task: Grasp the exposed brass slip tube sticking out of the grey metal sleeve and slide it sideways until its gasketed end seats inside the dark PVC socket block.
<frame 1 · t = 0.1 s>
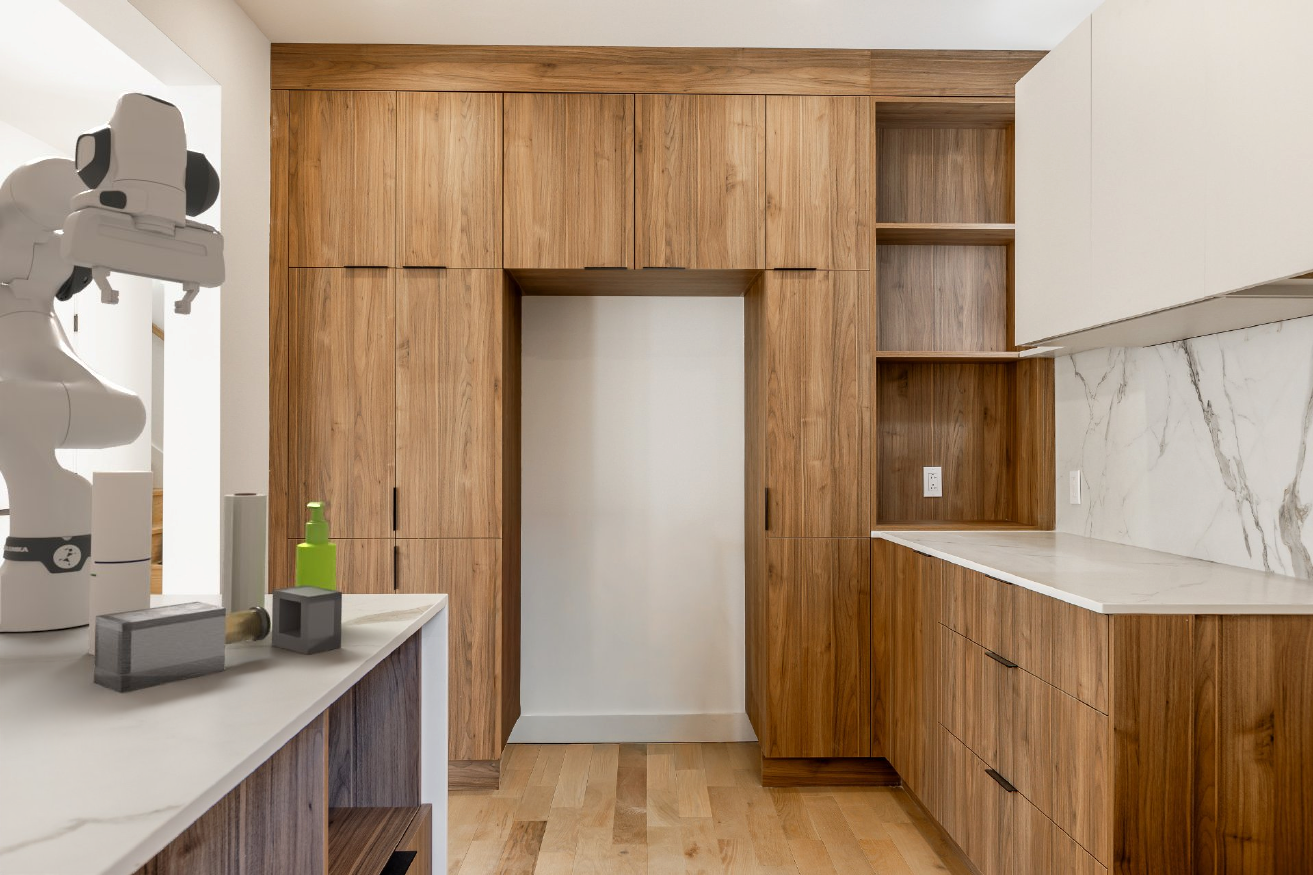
hand: (147, 308, 114), 48 cm above the counter, fingers open, 8 cm apart
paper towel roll: (239, 632, 127), on the counter
soap dispenser: (314, 627, 131), on the counter
cylindrical container: (119, 650, 115), on the counter
grey sleeve: (161, 676, 101), on the counter
dark socket block: (306, 646, 118), on the counter
brass slip tube: (203, 632, 106), point 5 cm above the counter, slide at 0.0 cm
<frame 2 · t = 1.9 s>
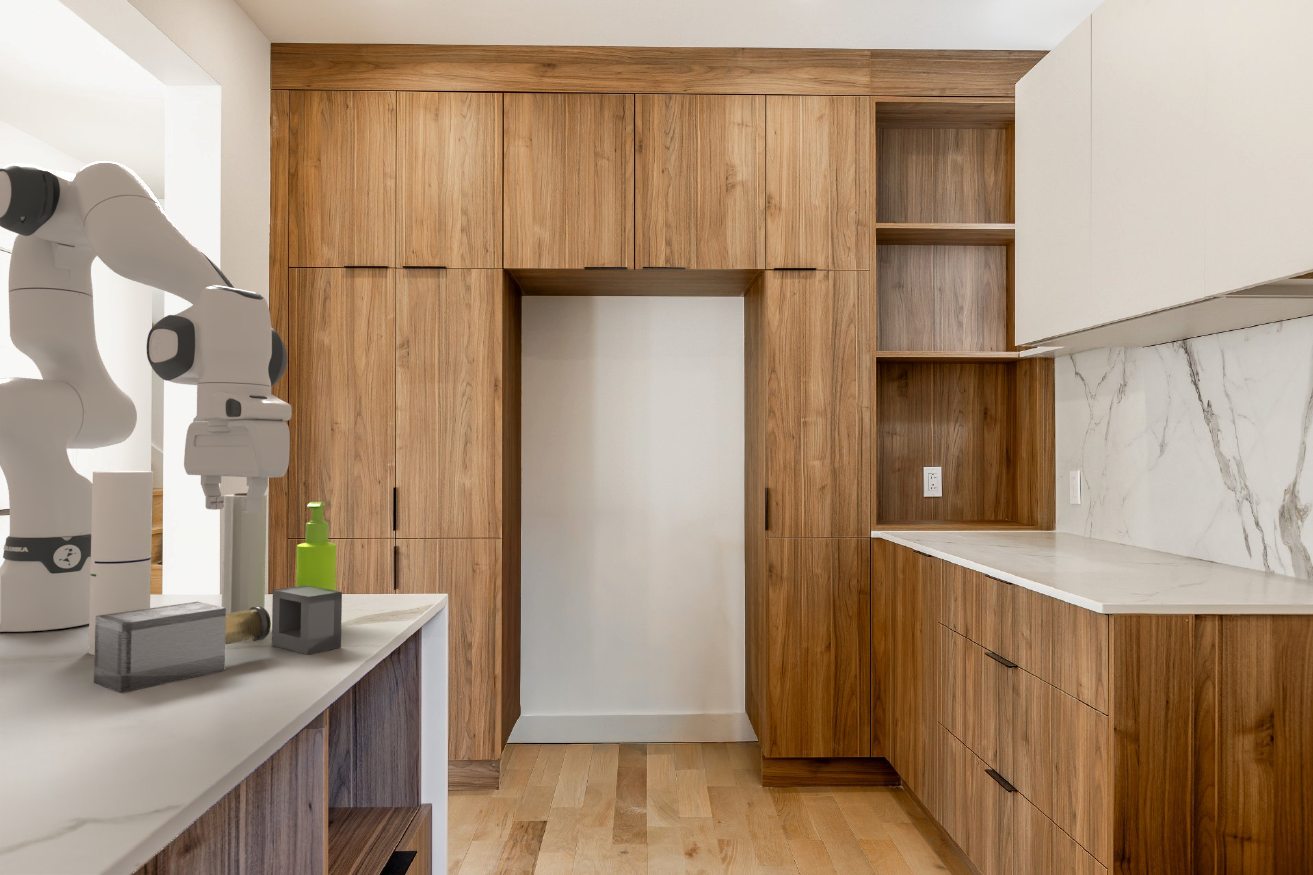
hand: (232, 510, 109), 20 cm above the counter, fingers open, 8 cm apart
nothing on the counter moved.
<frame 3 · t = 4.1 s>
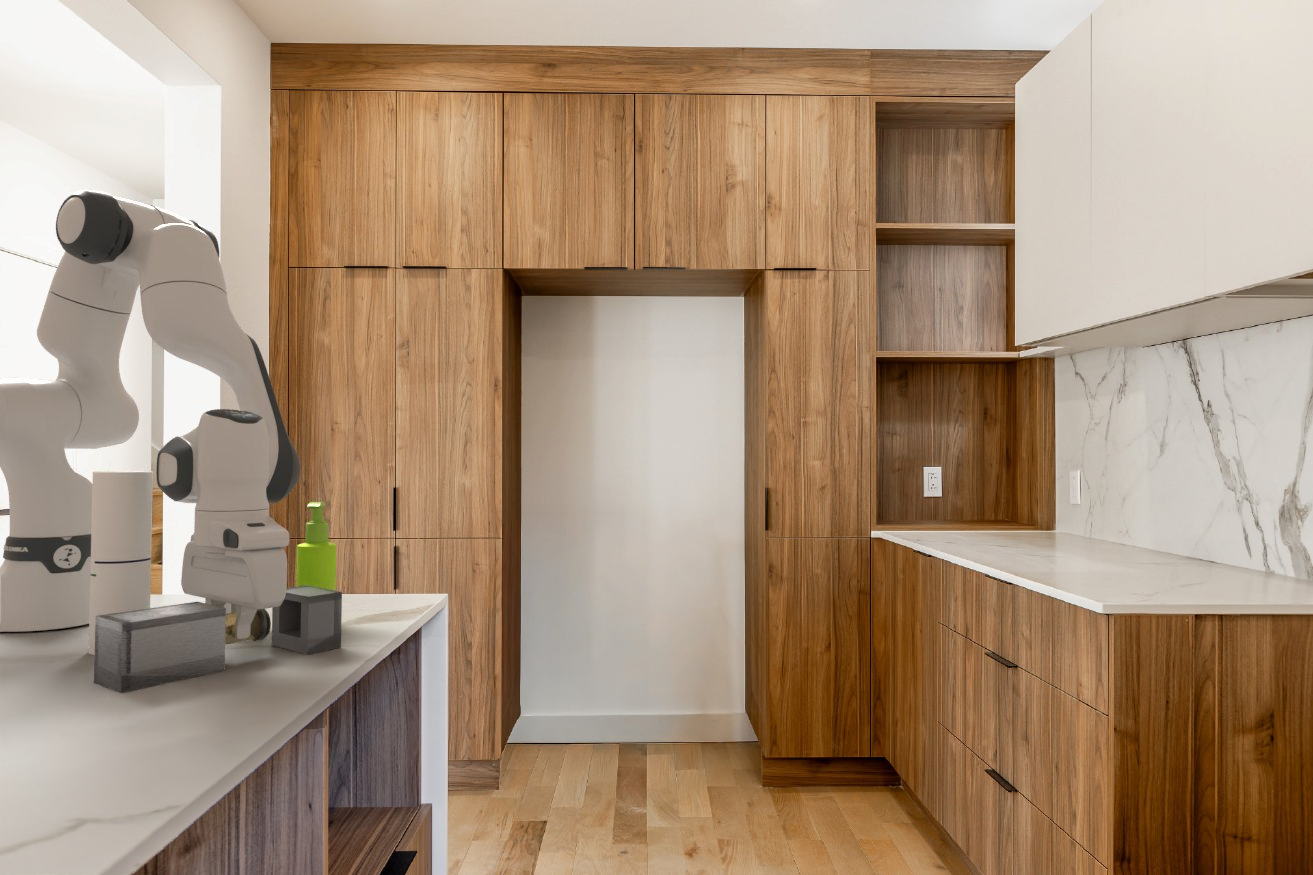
hand: (229, 635, 108), 4 cm above the counter, fingers closed on brass slip tube, 4 cm apart
brass slip tube: (203, 632, 106), point 5 cm above the counter, slide at 0.0 cm, touching gripper
everything else where it was.
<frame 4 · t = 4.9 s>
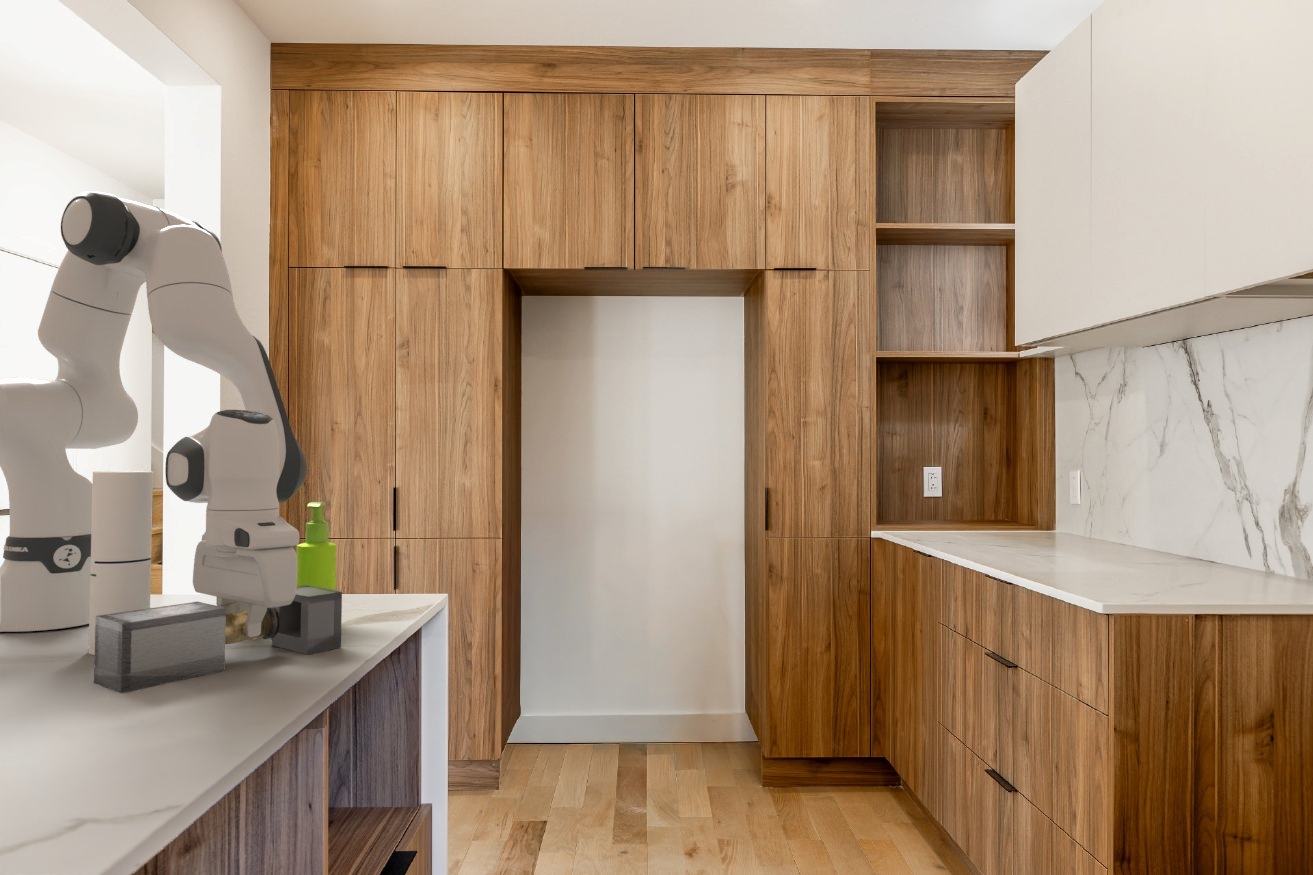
hand: (240, 633, 110), 4 cm above the counter, fingers closed on brass slip tube, 4 cm apart
brass slip tube: (214, 631, 107), point 5 cm above the counter, slide at 1.5 cm, touching gripper
everything else where it was.
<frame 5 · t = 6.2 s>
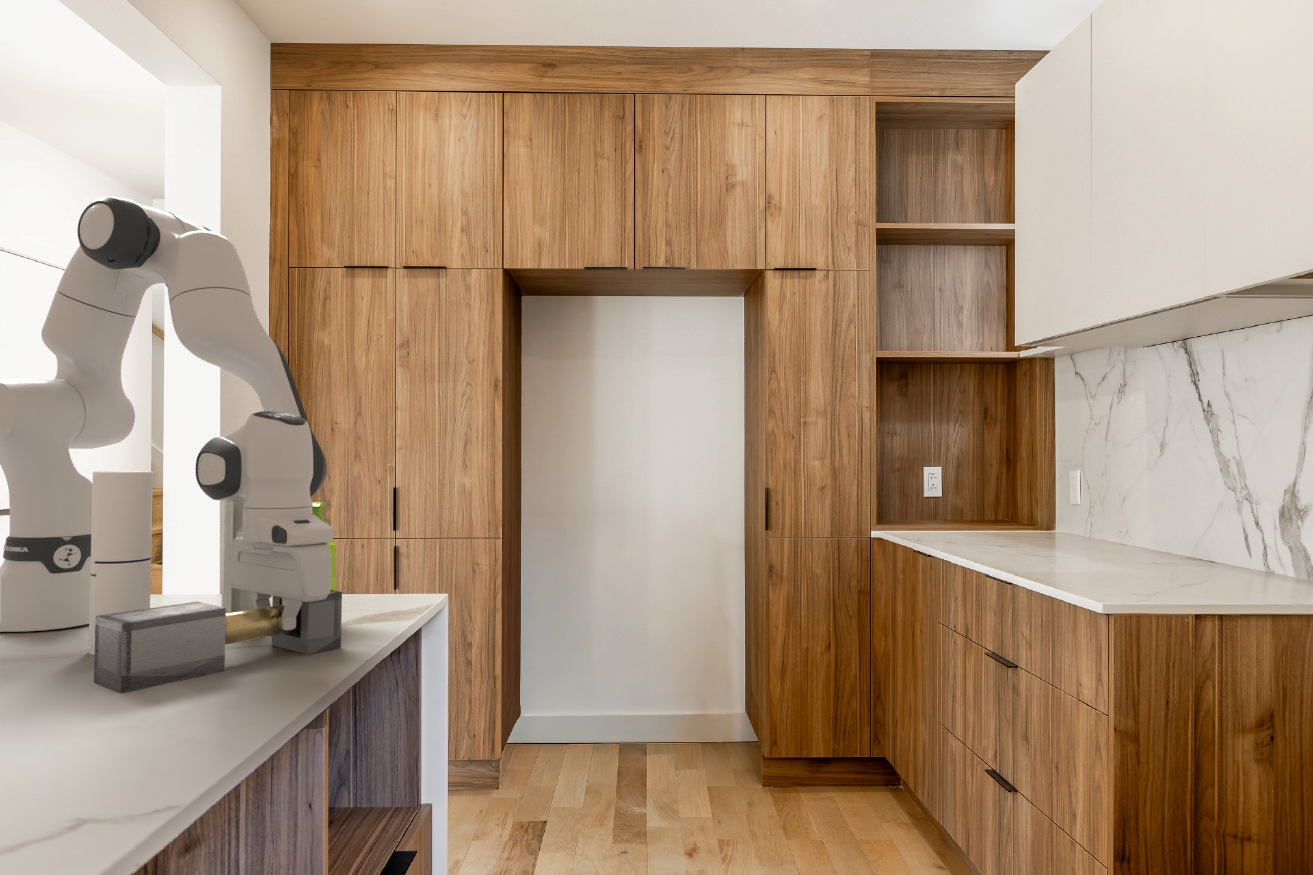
hand: (276, 626, 114), 4 cm above the counter, fingers closed on brass slip tube, 4 cm apart
brass slip tube: (251, 624, 111), point 5 cm above the counter, slide at 6.4 cm, touching gripper
everything else where it was.
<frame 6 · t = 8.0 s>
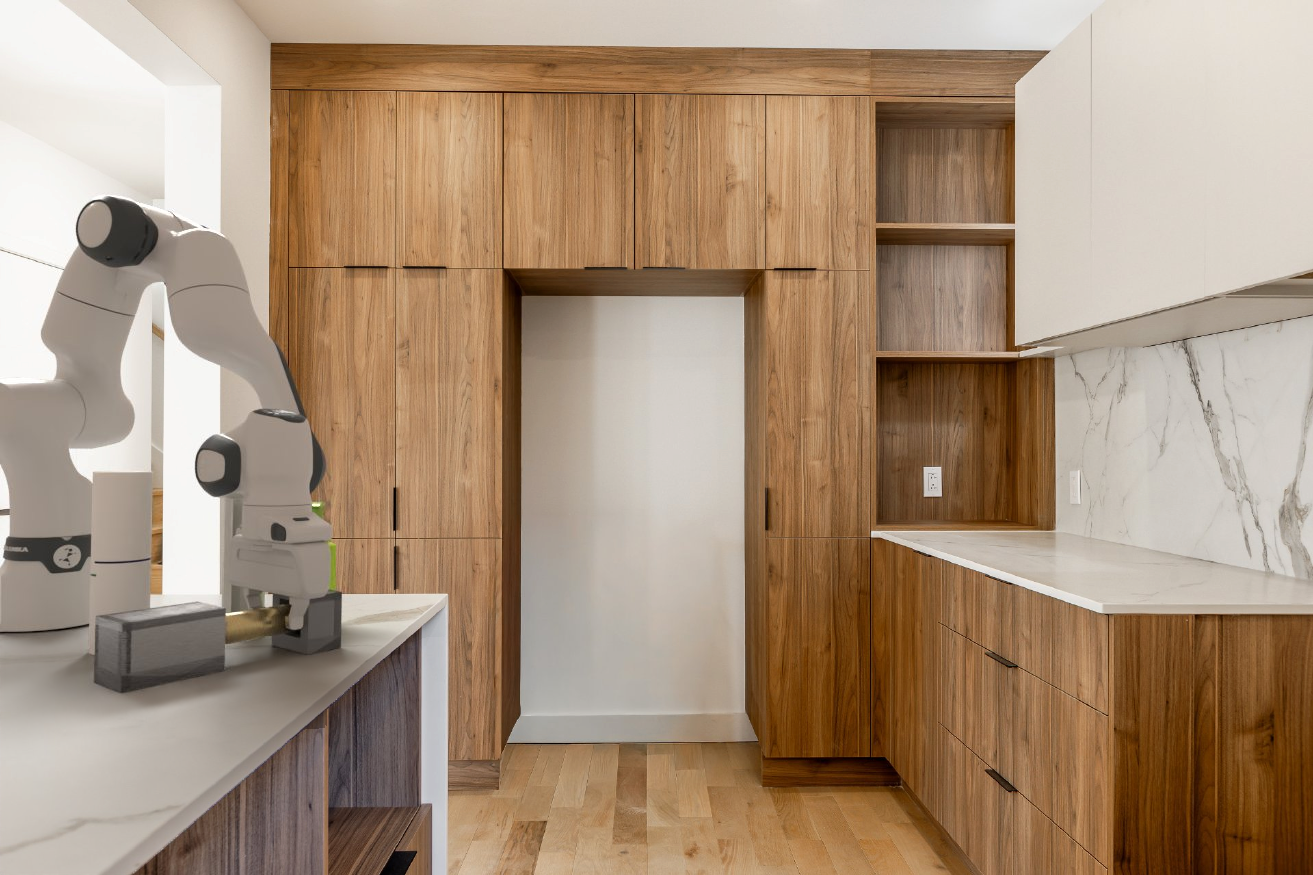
hand: (274, 624, 114), 4 cm above the counter, fingers open, 8 cm apart
brass slip tube: (251, 624, 111), point 5 cm above the counter, slide at 6.5 cm
everything else where it was.
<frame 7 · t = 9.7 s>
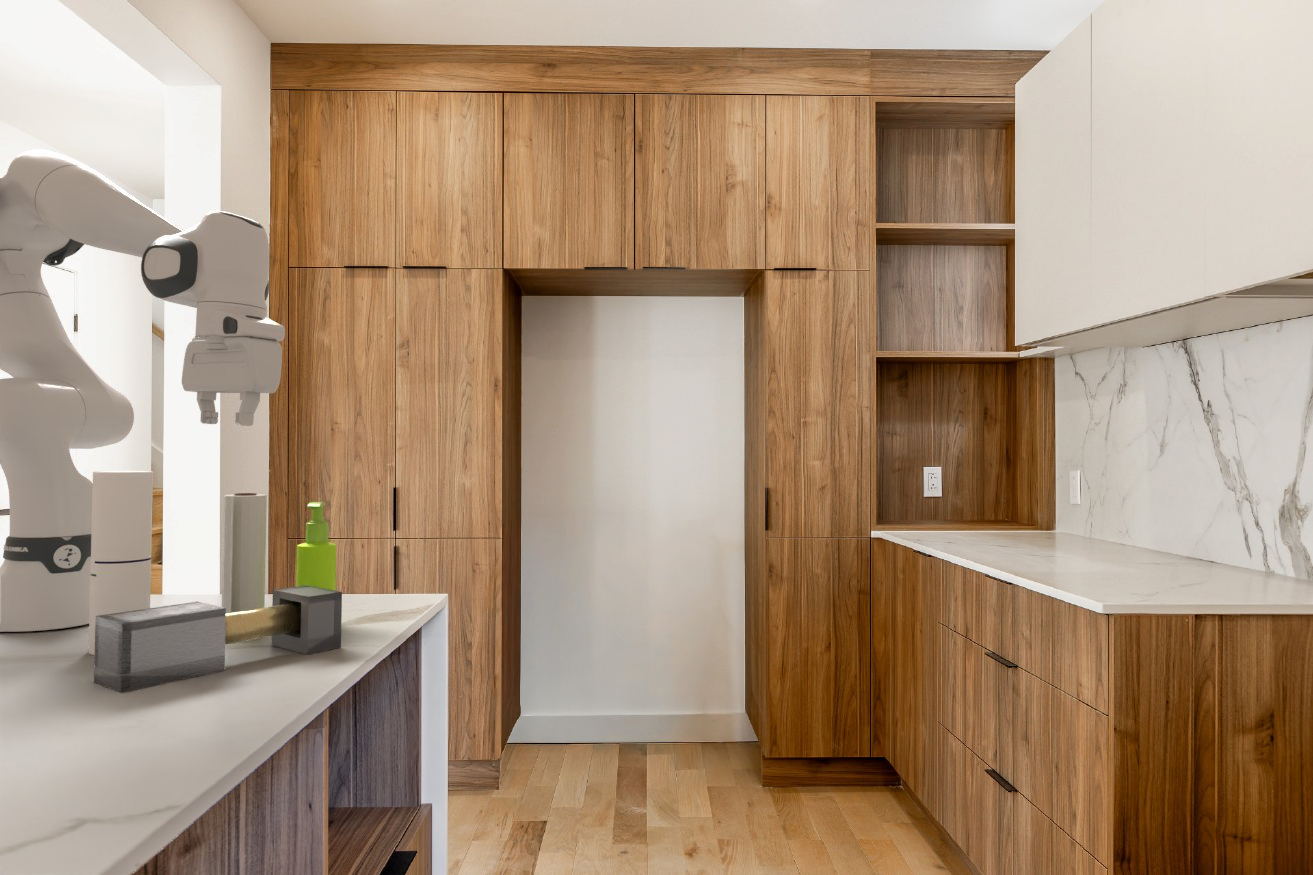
hand: (226, 424, 116), 32 cm above the counter, fingers open, 8 cm apart
nothing on the counter moved.
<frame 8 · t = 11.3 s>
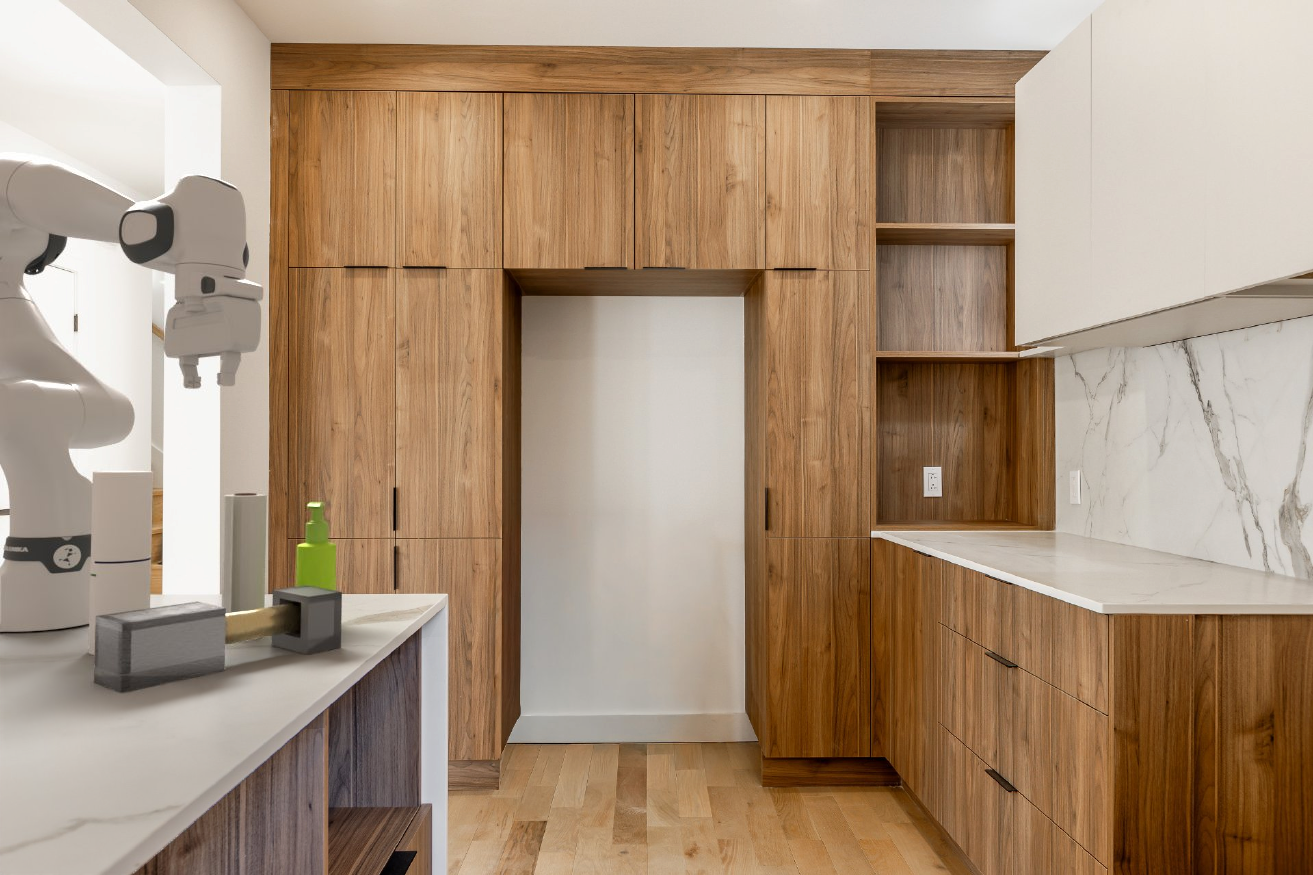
hand: (208, 387, 116), 37 cm above the counter, fingers open, 8 cm apart
nothing on the counter moved.
at the end: brass slip tube slide at 6.5 cm; the gripper is holding nothing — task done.
